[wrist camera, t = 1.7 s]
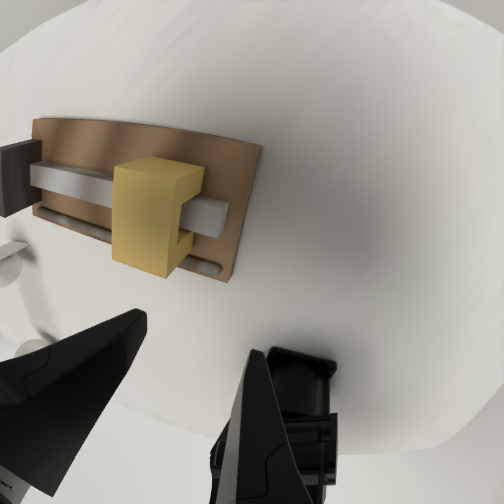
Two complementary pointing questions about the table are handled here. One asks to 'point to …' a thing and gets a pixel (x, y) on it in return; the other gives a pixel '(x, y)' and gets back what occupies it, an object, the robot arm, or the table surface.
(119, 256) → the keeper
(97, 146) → the rail board
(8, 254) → the headset
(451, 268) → the table surface
